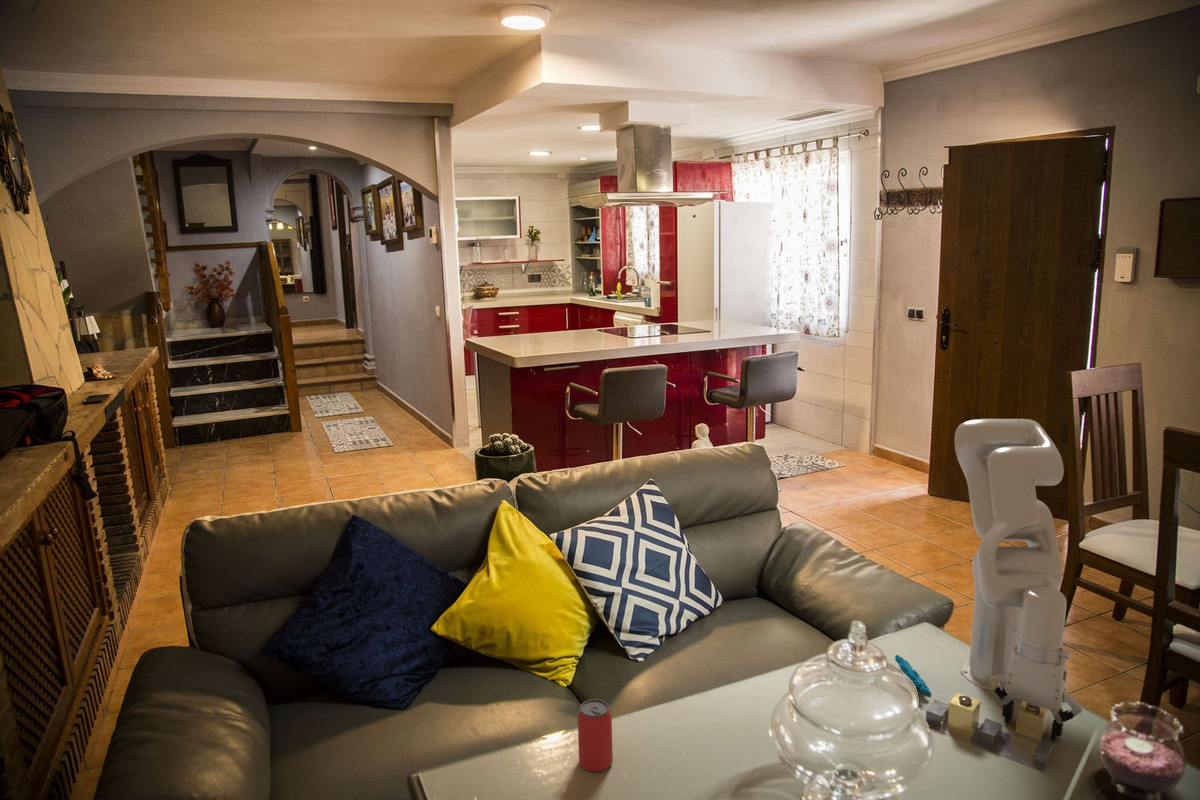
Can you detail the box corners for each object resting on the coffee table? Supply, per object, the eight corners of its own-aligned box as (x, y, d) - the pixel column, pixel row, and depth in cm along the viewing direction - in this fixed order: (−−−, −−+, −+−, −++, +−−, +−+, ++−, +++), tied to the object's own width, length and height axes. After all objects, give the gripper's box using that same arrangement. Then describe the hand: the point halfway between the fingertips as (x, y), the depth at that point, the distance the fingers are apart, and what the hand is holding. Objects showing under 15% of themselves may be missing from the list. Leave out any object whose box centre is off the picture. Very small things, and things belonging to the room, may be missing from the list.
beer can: (588, 778, 148) (586, 721, 145) (573, 758, 154) (571, 703, 151) (618, 766, 151) (617, 711, 148) (603, 747, 157) (601, 693, 154)
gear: (937, 698, 167) (904, 664, 168) (916, 716, 168) (883, 681, 169) (926, 677, 178) (894, 644, 179) (906, 693, 179) (875, 660, 180)
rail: (936, 711, 166) (937, 696, 165) (1053, 755, 151) (1055, 739, 150) (922, 729, 160) (923, 713, 159) (1042, 776, 145) (1044, 760, 144)
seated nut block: (955, 718, 161) (957, 689, 160) (978, 727, 158) (980, 698, 157) (947, 729, 158) (949, 699, 157) (970, 738, 155) (973, 708, 154)
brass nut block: (1021, 725, 160) (1024, 696, 159) (1045, 734, 157) (1048, 704, 156) (1015, 735, 157) (1017, 706, 156) (1039, 745, 154) (1043, 715, 153)
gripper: (1094, 656, 150) (1085, 737, 154) (997, 627, 162) (990, 703, 165) (1085, 673, 145) (1076, 756, 148) (985, 642, 156) (979, 720, 160)
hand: (1031, 728), depth 157 cm, fingers open, 7 cm apart
